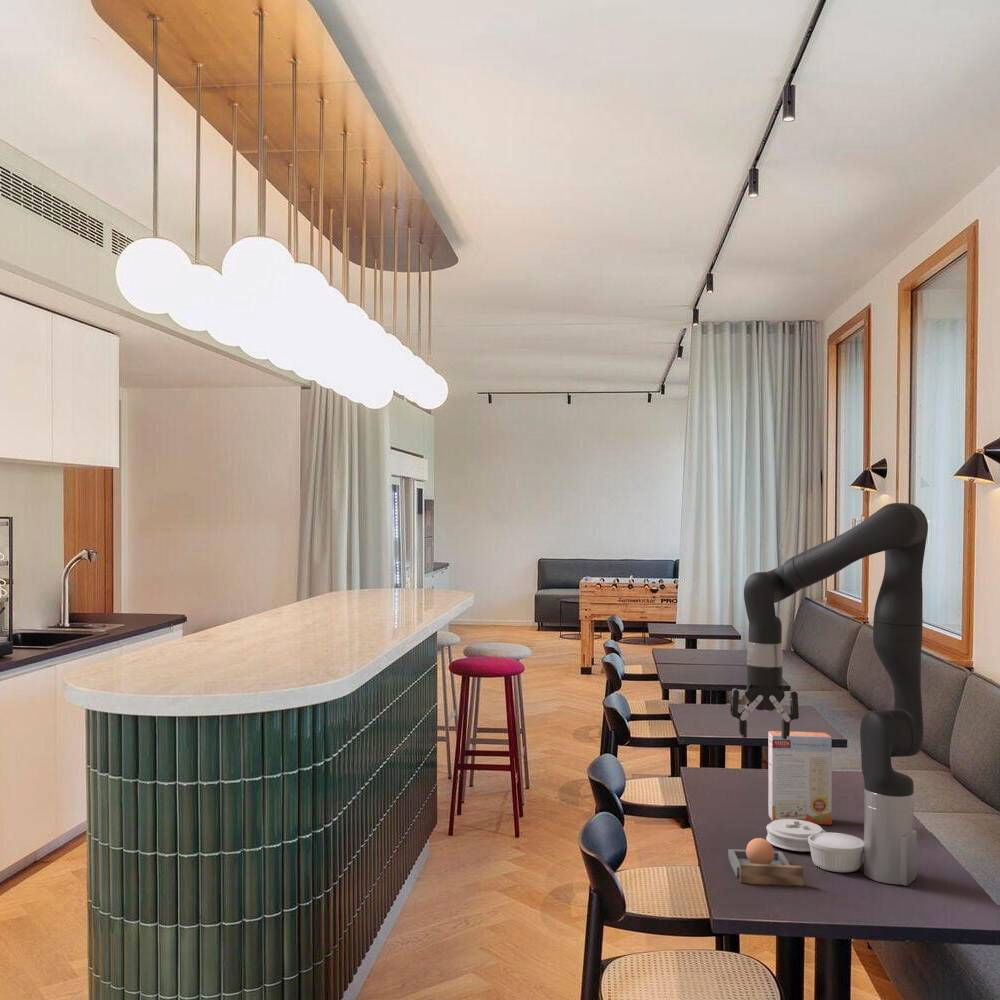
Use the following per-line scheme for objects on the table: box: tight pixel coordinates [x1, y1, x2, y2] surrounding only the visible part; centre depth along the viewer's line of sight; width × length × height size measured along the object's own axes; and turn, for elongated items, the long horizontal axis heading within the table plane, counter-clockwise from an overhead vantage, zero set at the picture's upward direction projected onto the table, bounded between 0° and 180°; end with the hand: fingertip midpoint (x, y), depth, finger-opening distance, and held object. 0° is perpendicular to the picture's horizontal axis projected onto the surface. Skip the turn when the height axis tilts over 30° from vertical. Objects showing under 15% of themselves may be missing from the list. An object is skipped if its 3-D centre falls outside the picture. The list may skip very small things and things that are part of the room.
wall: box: [739, 863, 804, 886], centre depth 188 cm, size 12×1×4 cm, turn 85°
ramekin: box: [808, 832, 864, 873], centre depth 199 cm, size 11×11×5 cm
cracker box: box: [767, 730, 833, 826], centre depth 230 cm, size 14×6×21 cm, turn 84°
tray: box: [727, 848, 791, 879], centre depth 196 cm, size 11×11×2 cm
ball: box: [745, 837, 775, 864], centre depth 196 cm, size 6×6×6 cm
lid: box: [765, 819, 827, 852], centre depth 212 cm, size 13×13×5 cm
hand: (763, 737), depth 209 cm, fingers open, 8 cm apart
